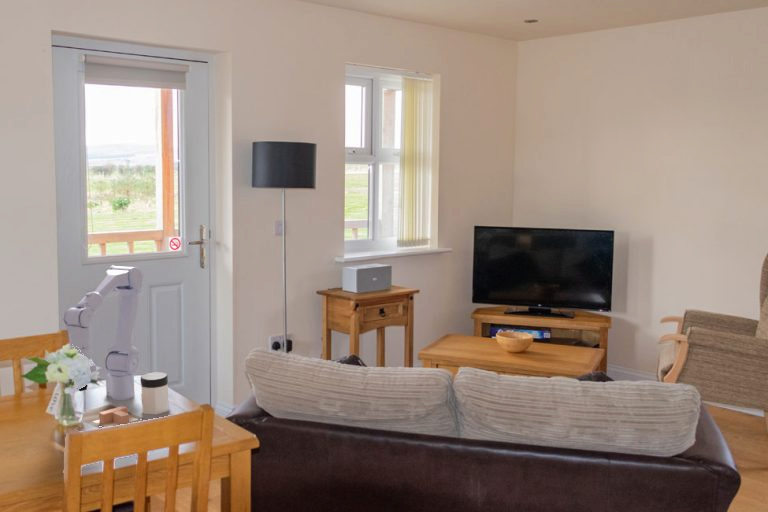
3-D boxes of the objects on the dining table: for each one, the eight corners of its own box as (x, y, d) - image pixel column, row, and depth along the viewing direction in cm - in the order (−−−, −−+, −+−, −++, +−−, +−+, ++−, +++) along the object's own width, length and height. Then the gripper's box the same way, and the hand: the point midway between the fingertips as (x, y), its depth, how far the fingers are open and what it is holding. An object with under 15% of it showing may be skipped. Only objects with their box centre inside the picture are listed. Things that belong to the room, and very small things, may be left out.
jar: (142, 409, 253) (140, 372, 251) (168, 406, 255) (166, 370, 253) (142, 418, 244) (140, 381, 243) (169, 416, 247) (168, 378, 245)
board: (71, 418, 245) (71, 414, 245) (110, 407, 255) (110, 404, 254) (105, 434, 232) (105, 430, 232) (144, 422, 242) (144, 418, 241)
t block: (99, 422, 239) (99, 412, 238) (123, 415, 245) (123, 405, 244) (113, 428, 234) (113, 418, 233) (137, 421, 239) (137, 411, 239)
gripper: (55, 345, 242) (58, 388, 244) (79, 354, 233) (82, 398, 235) (77, 340, 247) (80, 382, 249) (101, 349, 238) (104, 392, 240)
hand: (82, 390), depth 242 cm, fingers closed
